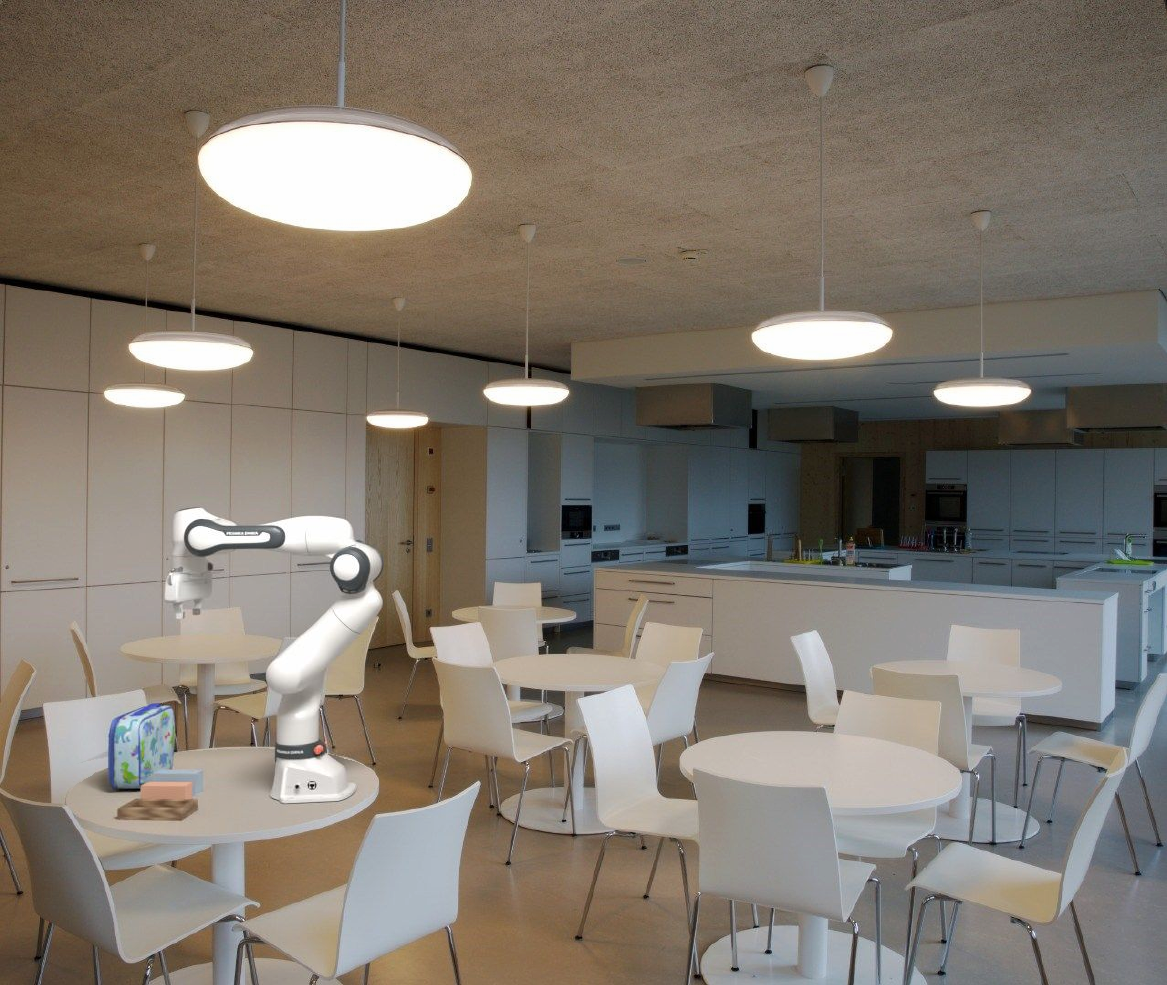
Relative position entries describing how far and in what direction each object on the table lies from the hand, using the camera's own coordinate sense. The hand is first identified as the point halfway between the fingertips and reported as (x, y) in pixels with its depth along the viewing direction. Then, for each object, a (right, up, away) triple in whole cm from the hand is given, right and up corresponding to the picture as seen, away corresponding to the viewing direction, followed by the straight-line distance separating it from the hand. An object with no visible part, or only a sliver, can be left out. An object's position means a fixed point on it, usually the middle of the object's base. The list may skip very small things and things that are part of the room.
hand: (188, 616), depth 256 cm
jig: (+1, -47, -20) cm, 51 cm away
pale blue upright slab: (-2, -48, -2) cm, 48 cm away
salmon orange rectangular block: (-2, -48, -10) cm, 49 cm away
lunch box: (-17, -49, +10) cm, 52 cm away
